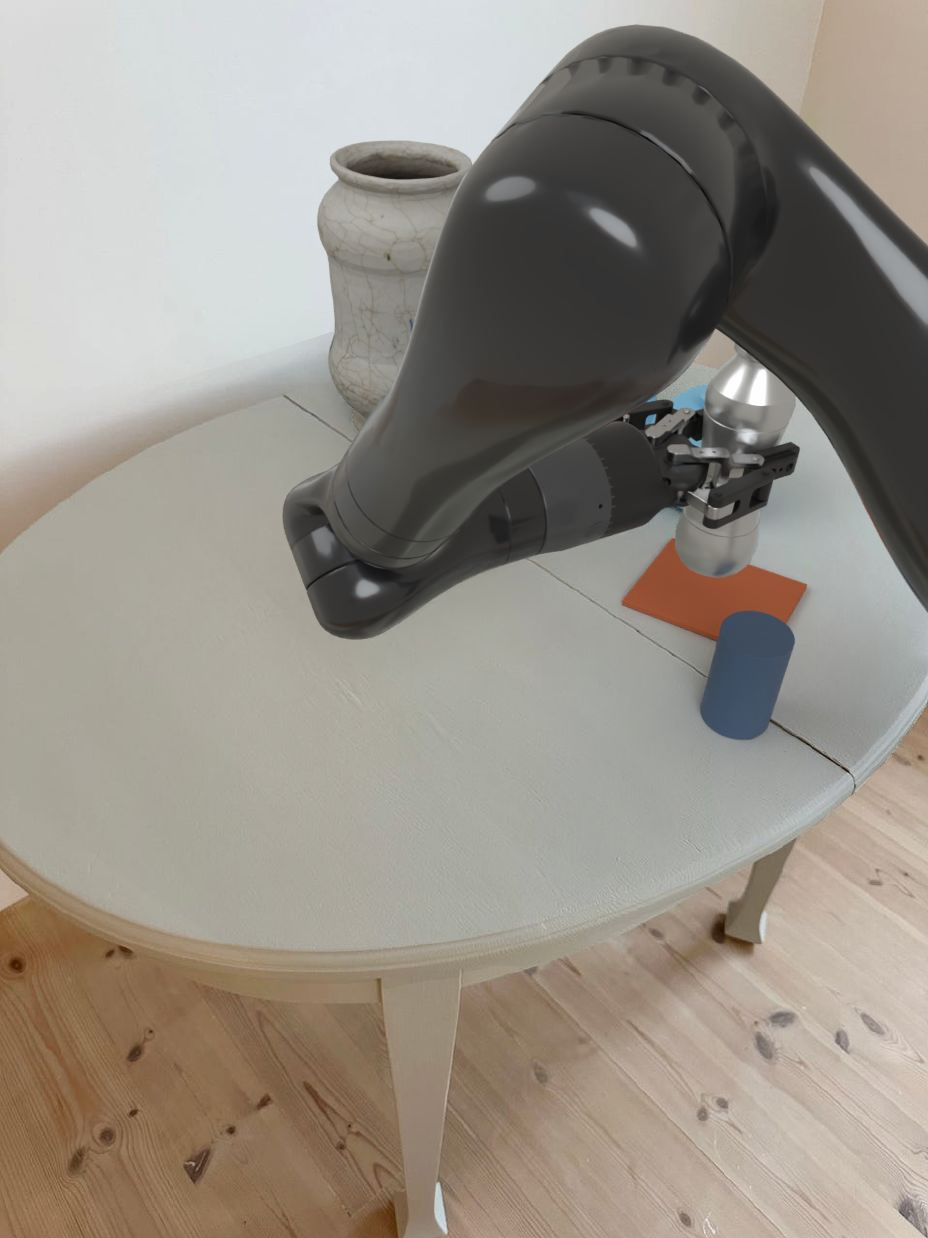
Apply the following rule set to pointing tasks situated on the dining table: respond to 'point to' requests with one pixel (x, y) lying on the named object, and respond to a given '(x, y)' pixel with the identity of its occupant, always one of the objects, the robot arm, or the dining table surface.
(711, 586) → the terracotta mat
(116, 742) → the dining table surface
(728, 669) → the blue canister
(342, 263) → the vase
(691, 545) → the silver metal bottle
